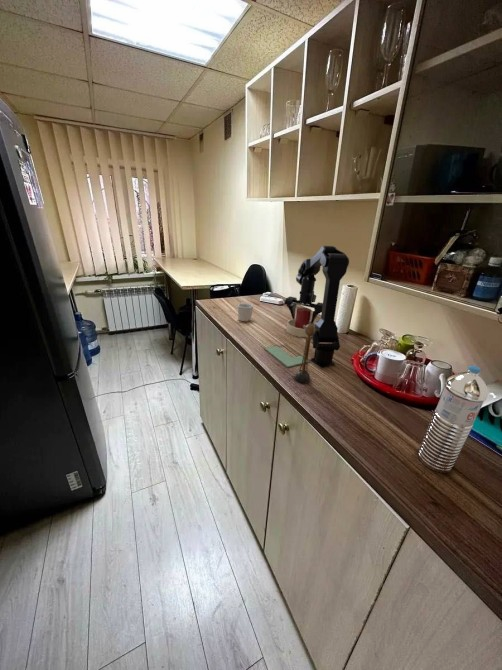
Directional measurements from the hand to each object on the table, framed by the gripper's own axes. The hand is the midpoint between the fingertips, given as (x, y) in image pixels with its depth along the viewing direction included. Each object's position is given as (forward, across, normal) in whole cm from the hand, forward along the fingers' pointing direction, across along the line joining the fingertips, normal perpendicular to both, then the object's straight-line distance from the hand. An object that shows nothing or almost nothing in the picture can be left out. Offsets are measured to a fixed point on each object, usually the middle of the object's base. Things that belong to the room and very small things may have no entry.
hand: (302, 321), depth 128 cm
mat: (+6, -4, +27) cm, 28 cm away
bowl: (+6, 0, 0) cm, 6 cm away
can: (+5, 0, 0) cm, 5 cm away
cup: (+1, +31, +3) cm, 31 cm away
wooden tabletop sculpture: (+6, -16, +39) cm, 42 cm away
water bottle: (+6, -54, +54) cm, 77 cm away
